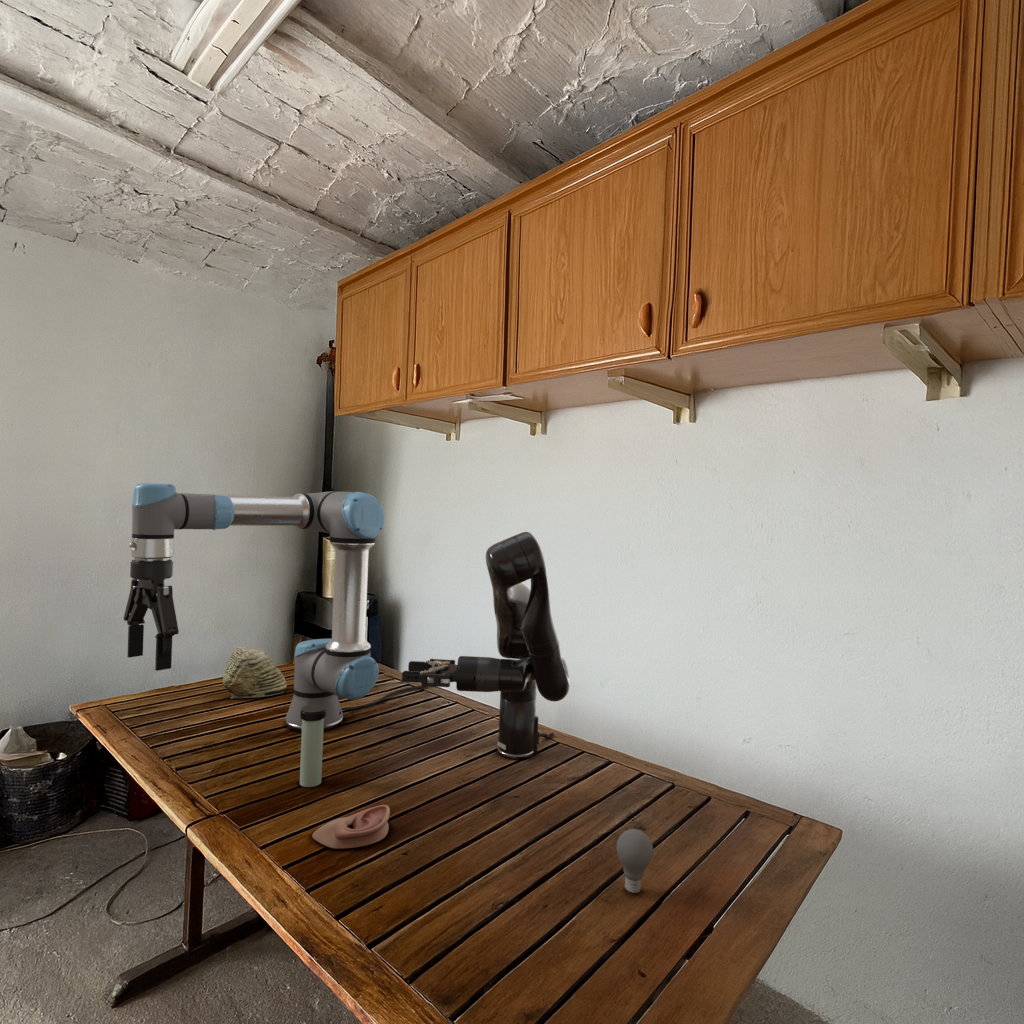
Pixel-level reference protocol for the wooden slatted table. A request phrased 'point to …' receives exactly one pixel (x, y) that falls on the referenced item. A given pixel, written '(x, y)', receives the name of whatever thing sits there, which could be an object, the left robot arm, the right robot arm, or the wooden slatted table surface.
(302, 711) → the lid
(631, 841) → the light bulb
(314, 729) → the pale green cylinder
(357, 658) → the left robot arm
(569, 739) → the wooden slatted table surface
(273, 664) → the fossil
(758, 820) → the wooden slatted table surface
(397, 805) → the wooden slatted table surface
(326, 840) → the anatomical model
